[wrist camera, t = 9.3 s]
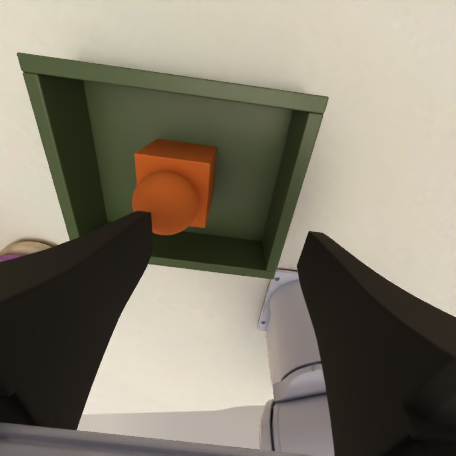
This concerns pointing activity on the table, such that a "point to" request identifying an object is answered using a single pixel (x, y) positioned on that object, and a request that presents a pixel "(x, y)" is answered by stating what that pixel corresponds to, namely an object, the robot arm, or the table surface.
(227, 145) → the bin
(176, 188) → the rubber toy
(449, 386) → the robot arm
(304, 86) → the table surface
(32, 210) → the table surface
